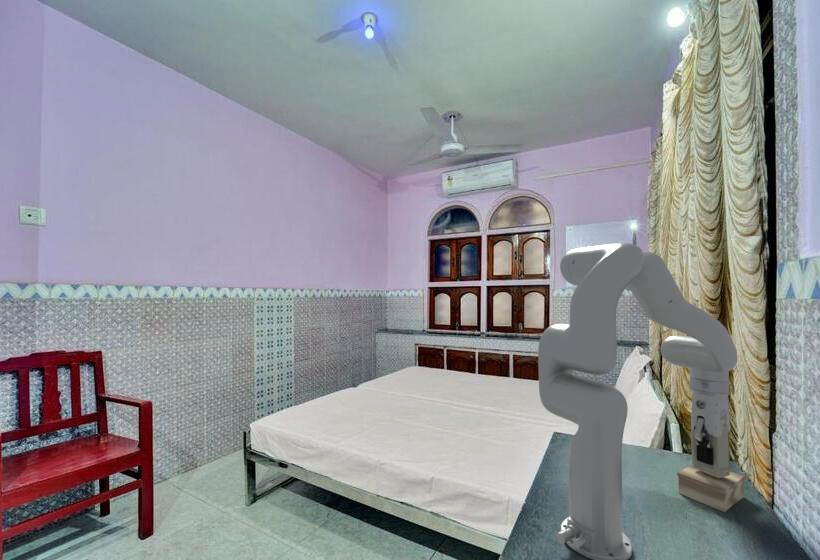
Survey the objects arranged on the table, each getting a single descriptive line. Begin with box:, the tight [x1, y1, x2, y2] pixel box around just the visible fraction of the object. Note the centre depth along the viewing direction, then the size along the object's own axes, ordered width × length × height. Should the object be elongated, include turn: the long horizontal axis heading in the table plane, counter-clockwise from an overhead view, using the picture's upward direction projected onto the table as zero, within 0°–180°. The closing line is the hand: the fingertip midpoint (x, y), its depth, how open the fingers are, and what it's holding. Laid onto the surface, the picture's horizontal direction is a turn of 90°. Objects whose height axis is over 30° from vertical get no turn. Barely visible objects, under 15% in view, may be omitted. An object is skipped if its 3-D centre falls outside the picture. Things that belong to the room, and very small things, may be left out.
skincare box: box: [690, 418, 731, 478], centre depth 90 cm, size 6×4×12 cm
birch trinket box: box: [676, 464, 746, 513], centre depth 90 cm, size 12×9×5 cm
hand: (709, 459), depth 90 cm, fingers open, 5 cm apart
